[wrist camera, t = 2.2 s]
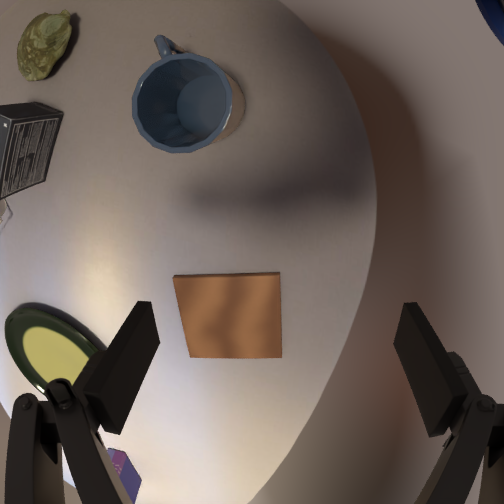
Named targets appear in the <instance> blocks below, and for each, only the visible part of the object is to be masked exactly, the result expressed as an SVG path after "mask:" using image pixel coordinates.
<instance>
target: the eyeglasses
mask: <svg viewBox="0 0 504 504" xmlns="http://www.w3.org/2000/svg"><path fill="white" fill-rule="evenodd" d="M6 207H7V204H6V201H5V199H2V200H0V224H1V222H2V221H3V220H2V218H1V216H2V215H3V214H4V212H5V210H6Z"/></svg>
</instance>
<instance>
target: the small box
mask: <svg viewBox="0 0 504 504" xmlns="http://www.w3.org/2000/svg"><path fill="white" fill-rule="evenodd" d="M62 116H63V113H62V112H60V111H57V110H54V109H52V108H49V107H47V106H45V105H43V104H40V103H37V102H31V103H19V104H9V105H0V200H2V199H4V198H6V197H8V196H10V195H12V194H15V193H17V192H19V191H22V190H24V189H27V188H29V187H31V186H34V185H36V184H39V183H42V182H44V181H45V178H46V174H47V170H48V166H49V162H50V158H51V154H52V150H53V146H54V143H55V139H56V136H57V132H58V129H59V126H60V123H61V119H62Z"/></svg>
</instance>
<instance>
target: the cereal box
mask: <svg viewBox="0 0 504 504" xmlns="http://www.w3.org/2000/svg"><path fill="white" fill-rule="evenodd" d="M107 452H108V455H109V457H110V459H111V461H112V463H113V466H114V468H115V470H116V472H117V474H118V476H119V478H120V480H121V482H122V484H123V486H124V488H125V490H126V492H127V494H128V495H129V497H130V499H131V501H132V503H133V504H135V501H136V497H137V494H138V491H139V487H140V484H141V481H142V479H141V478H140V476H139V475H138V473H137V471H136V470H135V468H134V466H133V465H132V463H131V461H130V460H129V458H128V456H127V455H126V453H125V452H123V451H119V450H115V449H111V448H108V450H107Z"/></svg>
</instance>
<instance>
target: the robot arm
mask: <svg viewBox="0 0 504 504" xmlns="http://www.w3.org/2000/svg"><path fill="white" fill-rule="evenodd" d="M497 1H498V3H499V5H500V7H501V9H502V11H503V13H504V0H497ZM159 344H160V340H159V335H158V331H157V327H156V322H155V318H154V313H153V309H152V304H151V302H148V301H138V302H137V303H136V305H135V306H134V308H133V309H132V311H131V312H130V314H129V315H128V317H127V318H126V320H125V322H124V323H123V325H122V326H121V328H120V329H119V331H118V333H117V334H116V336H115V337H114V339H113V340H112V342H111V344H110V345H109V347H108V349H107V350H106V351H102V350H98V351H97V352H95V353H94V354H93V355H92V356H90V358H89V360H88V361H87V363H86V365H85V366H84V367H83V369H82V371H81V372H80V374H79V375H78V377H77V378H76V380H75V382H74V383H73V385H72V384H71V383H70V381H69V380H67V379H65V378H57V379H54V380H52V381H50V382H49V383H48V384H47V385H46V387H45V389H44V394H45V396H46V398H47V399H48V401H39V400H38V399H37V397H36V396H35V395H34V394H32V393H25V394H22V395H21V396H19V397H18V398H17V399H16V400H15V402H14V406H13V411H12V418H11V425H10V432H9V440H8V449H7V461H6V474H5V504H65V497H64V485H63V468H62V447H63V450H64V454H65V457H66V460H67V463H68V466H69V469H70V472H71V475H72V478H73V480H74V483H75V486H76V489H77V491H78V494H79V496H80V499H81V501H82V504H133V503H132V501H131V499H130V497H129V495H128V494H127V492H126V490H125V488H124V486H123V484H122V482H121V480H120V478H119V476H118V474H117V472H116V470H115V468H114V466H113V463H112V461H111V459H110V457H109V455H108V452H107V450H106V448H105V446H104V443H103V441H102V439H101V436H100V434H99V432H98V431H97V430H98V428H99V426H100V424H101V426H102V427H103V429H104V431H105V432H109V433H113V434H118V435H120V434H121V431H122V429H123V427H124V424H125V422H126V419H127V417H128V415H129V412H130V410H131V408H132V405H133V403H134V401H135V398H136V396H137V394H138V391H139V389H140V387H141V384H142V382H143V380H144V377H145V375H146V373H147V371H148V368H149V366H150V364H151V362H152V359H153V357H154V355H155V353H156V351H157V348H158V346H159ZM393 344H394V347H395V349H396V352H397V354H398V356H399V358H400V361H401V364H402V366H403V369H404V371H405V374H406V376H407V379H408V381H409V383H410V386H411V389H412V391H413V394H414V397H415V399H416V402H417V405H418V407H419V410H420V413H421V416H422V418H423V421H424V424H425V427H426V430H427V433H428V435H429V437H435V436H439V435H443V434H444V433H445V432H446V430H447V428H448V427H450V430H451V432H452V433H451V435H450V436H449V438H448V439H447V441H446V442H445V443H444V445H443V447H444V449H443V451H442V453H441V455H440V457H439V459H438V461H437V464H436V465H435V467H434V469H433V471H432V473H431V475H430V477H429V479H428V480H427V482H426V484H425V486H424V488H423V489H422V491H421V493H420V495H419V496H418V498H417V500H416V501H415V503H414V504H464V503H465V501H466V499H467V496H468V494H469V491H470V489H471V487H472V485H473V482H474V480H475V477H476V474H477V472H478V469H479V467H480V464H481V461H482V458H483V455H484V462H483V463H484V464H483V472H482V481H481V488H480V494H479V501H478V504H504V404H497V403H496V402H495V401H494V399H493V398H492V397H490V396H488V395H484V394H482V393H481V391H480V390H479V388H478V386H477V384H476V382H475V381H474V379H473V377H472V375H471V373H469V370H468V368H467V367H466V365H465V363H464V361H463V360H462V358H461V357H460V356H459V355H457V354H456V353H455V352H446V350H445V348H444V347H443V345H442V343H441V341H440V340H439V338H438V336H437V335H436V333H435V331H434V330H433V328H432V326H431V325H430V323H429V321H428V320H427V318H426V316H425V315H424V313H423V312H422V310H421V308H420V307H419V306H418V304H417V302H412V303H404V305H403V309H402V313H401V317H400V321H399V325H398V329H397V332H396V336H395V340H394V343H393Z"/></svg>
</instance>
